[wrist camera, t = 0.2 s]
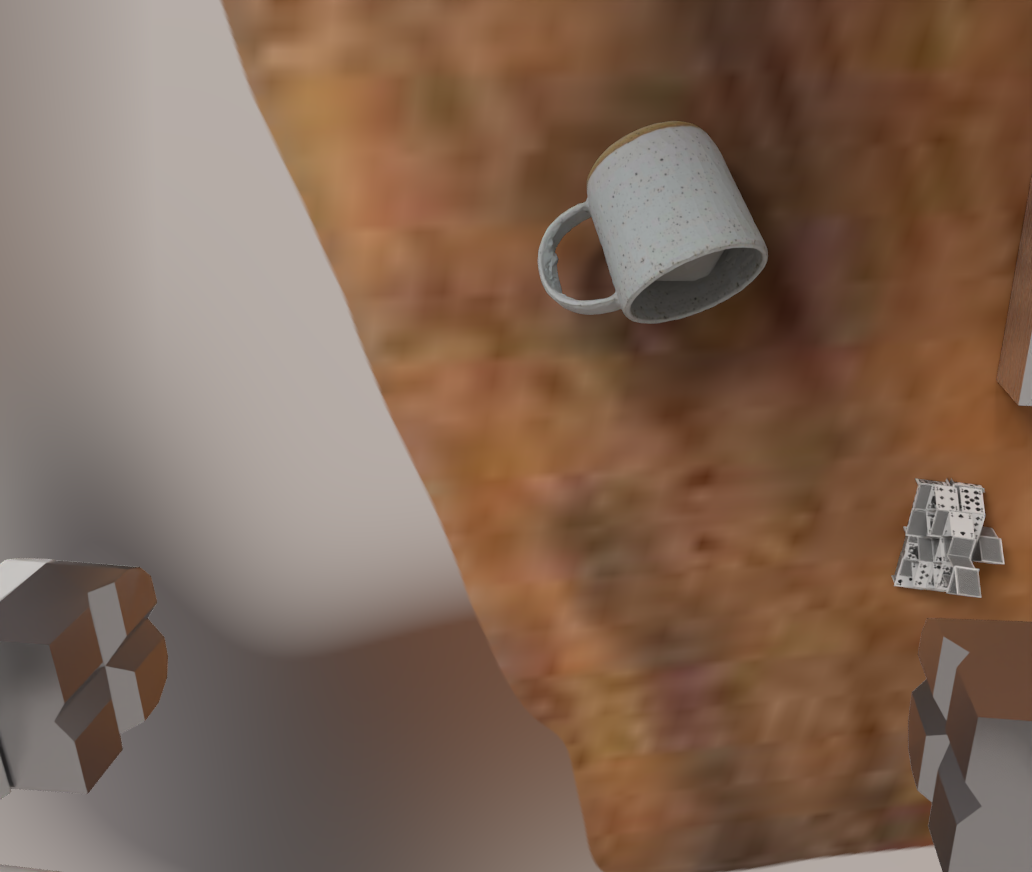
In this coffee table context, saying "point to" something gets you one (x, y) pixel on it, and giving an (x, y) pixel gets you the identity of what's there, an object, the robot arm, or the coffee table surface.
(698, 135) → the ceramic mug
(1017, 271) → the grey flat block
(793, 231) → the coffee table surface
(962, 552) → the house of cards
